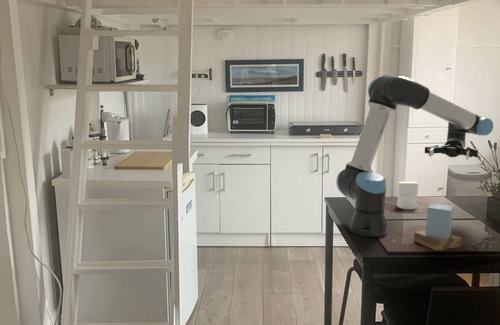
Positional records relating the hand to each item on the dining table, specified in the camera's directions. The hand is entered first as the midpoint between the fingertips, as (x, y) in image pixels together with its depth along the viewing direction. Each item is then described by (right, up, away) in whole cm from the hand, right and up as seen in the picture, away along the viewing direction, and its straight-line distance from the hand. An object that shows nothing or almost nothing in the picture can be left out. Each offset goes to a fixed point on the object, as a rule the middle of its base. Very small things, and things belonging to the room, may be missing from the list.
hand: (448, 154), depth 193 cm
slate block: (-7, -30, -8) cm, 32 cm away
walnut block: (-7, -34, -8) cm, 36 cm away
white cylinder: (-3, -25, +43) cm, 50 cm away
